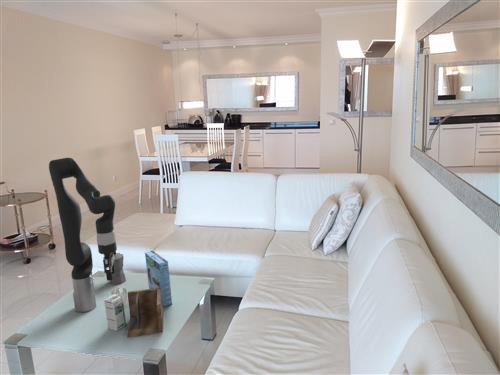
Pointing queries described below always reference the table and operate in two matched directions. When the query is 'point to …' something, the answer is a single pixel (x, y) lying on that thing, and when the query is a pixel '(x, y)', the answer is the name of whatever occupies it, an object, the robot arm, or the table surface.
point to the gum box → (159, 276)
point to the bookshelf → (145, 312)
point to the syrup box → (115, 312)
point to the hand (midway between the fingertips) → (111, 275)
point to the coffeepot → (118, 270)
